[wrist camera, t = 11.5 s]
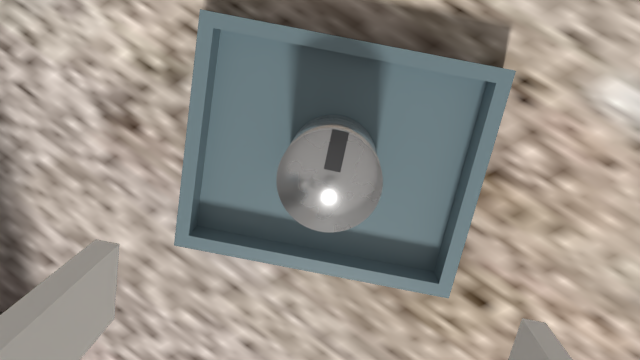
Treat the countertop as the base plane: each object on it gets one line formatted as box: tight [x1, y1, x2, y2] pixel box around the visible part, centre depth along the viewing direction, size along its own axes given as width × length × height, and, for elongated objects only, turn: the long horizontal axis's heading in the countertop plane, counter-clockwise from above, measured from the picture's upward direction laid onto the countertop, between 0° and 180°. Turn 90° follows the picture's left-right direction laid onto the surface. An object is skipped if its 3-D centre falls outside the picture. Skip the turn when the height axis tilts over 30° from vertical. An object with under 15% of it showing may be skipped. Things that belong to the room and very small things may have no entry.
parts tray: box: [174, 9, 516, 298], centre depth 35 cm, size 21×17×3 cm
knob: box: [276, 115, 383, 232], centre depth 32 cm, size 6×6×7 cm
